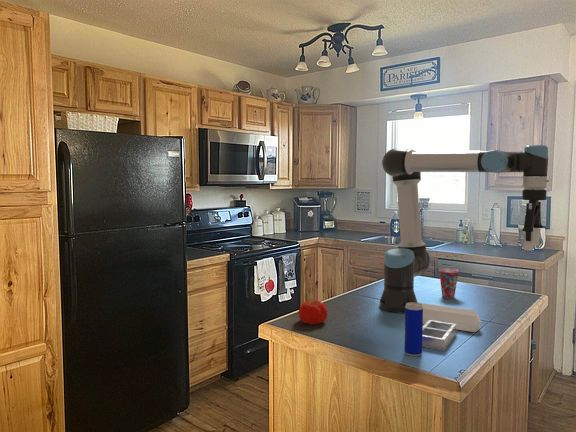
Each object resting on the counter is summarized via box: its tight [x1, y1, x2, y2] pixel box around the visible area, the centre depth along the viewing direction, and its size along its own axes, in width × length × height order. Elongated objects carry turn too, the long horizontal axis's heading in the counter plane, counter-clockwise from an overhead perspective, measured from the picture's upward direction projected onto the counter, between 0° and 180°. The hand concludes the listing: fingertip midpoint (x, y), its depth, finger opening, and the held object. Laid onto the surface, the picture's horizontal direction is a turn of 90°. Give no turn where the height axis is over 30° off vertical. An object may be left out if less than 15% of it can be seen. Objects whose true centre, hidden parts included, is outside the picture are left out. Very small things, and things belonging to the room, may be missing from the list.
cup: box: [438, 267, 460, 299], centre depth 196 cm, size 9×8×12 cm
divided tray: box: [422, 320, 457, 352], centre depth 144 cm, size 9×17×4 cm, turn 148°
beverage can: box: [404, 302, 424, 357], centre depth 133 cm, size 5×5×15 cm
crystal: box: [419, 302, 482, 333], centre depth 158 cm, size 7×7×24 cm
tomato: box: [298, 300, 329, 326], centre depth 163 cm, size 11×11×8 cm
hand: (531, 247), depth 161 cm, fingers open, 13 cm apart
